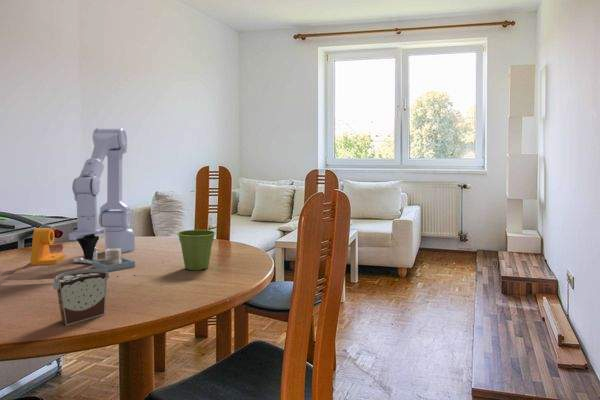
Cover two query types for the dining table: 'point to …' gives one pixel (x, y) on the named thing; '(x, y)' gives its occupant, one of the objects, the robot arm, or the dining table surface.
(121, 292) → the dining table surface
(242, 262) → the dining table surface
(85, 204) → the robot arm
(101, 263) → the tray
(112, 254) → the block
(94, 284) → the food container
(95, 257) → the crank
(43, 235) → the bracket
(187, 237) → the plant pot
